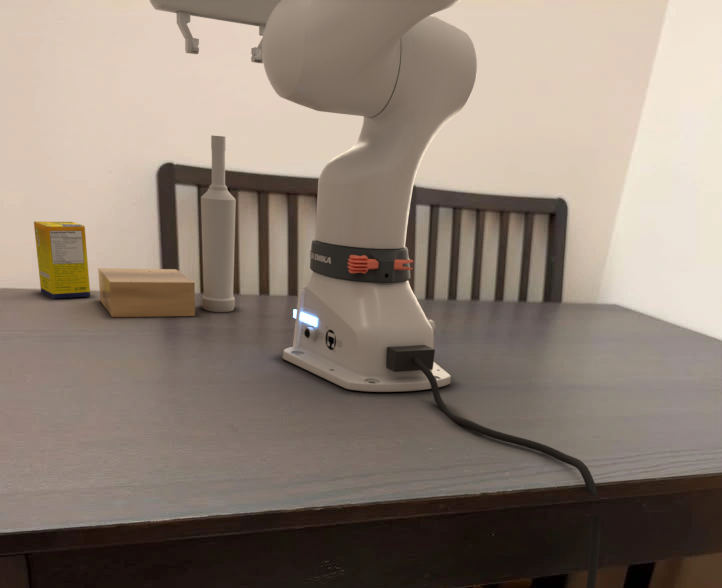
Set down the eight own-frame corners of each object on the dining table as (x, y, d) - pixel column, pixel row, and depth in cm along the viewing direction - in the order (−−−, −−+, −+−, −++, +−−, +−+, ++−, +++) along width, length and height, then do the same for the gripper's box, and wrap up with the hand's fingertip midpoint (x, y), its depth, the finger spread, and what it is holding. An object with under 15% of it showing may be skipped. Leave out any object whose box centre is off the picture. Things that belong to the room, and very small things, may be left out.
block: (195, 316, 110) (194, 282, 108) (112, 317, 105) (109, 281, 103) (177, 300, 119) (176, 269, 117) (100, 300, 114) (98, 268, 112)
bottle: (200, 305, 117) (198, 134, 107) (232, 306, 119) (233, 137, 109) (203, 312, 113) (202, 134, 103) (237, 312, 114) (238, 137, 104)
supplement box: (76, 290, 120) (71, 221, 116) (91, 297, 116) (86, 225, 112) (39, 292, 116) (32, 220, 112) (53, 299, 112) (46, 225, 108)
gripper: (150, -84, 90) (154, 45, 95) (305, -51, 98) (300, 66, 104) (141, -73, 95) (145, 49, 100) (289, -43, 103) (285, 68, 109)
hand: (225, 58), depth 102 cm, fingers open, 8 cm apart
